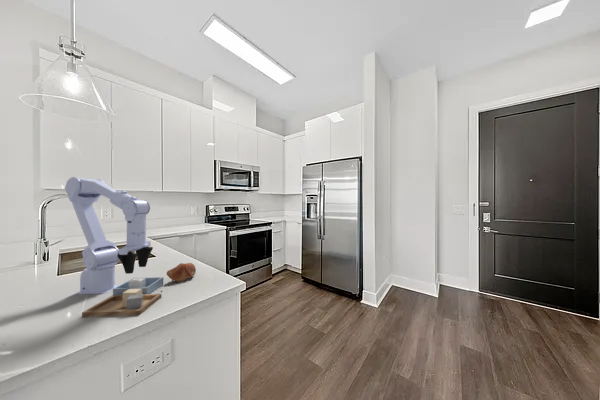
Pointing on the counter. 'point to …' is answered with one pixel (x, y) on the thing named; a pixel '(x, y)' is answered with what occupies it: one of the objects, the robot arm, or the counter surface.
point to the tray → (119, 306)
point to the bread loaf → (182, 272)
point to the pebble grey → (137, 283)
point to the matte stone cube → (135, 301)
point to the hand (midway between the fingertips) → (136, 269)
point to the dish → (151, 286)
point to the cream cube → (129, 293)
